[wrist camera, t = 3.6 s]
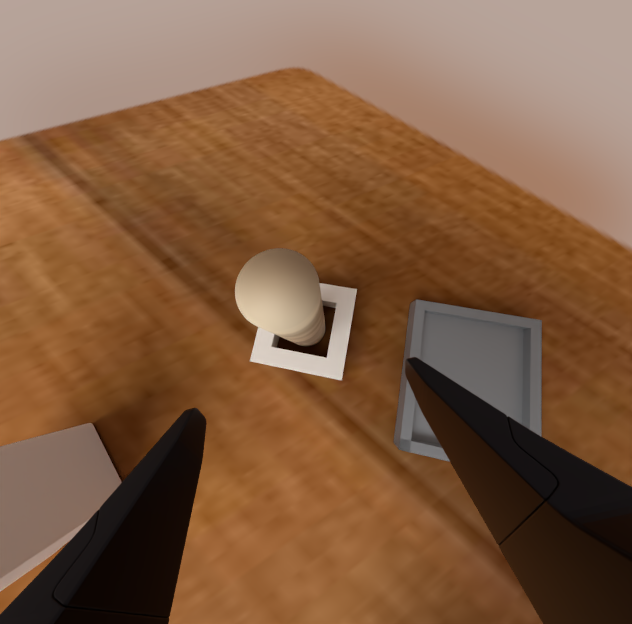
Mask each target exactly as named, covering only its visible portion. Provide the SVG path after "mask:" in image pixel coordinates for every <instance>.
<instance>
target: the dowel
mask: <svg viewBox="0 0 632 624" xmlns="http://www.w3.org/2000/svg"><path fill="white" fill-rule="evenodd" d="M235 298H236V302H237V305H238V308H239V310H240V312H241V313H242V314H243V316H244V317H245V318H246V319H247V320H248V321H249V322H251V323H252V324H254V325H255V326H257V327H260V328H262V329H264V330H266V331H269V332H271V333H273V334H275V335H278V336H280V337H282V338H284V339H287V340H289V341H291V342H293V343H296V344H298V345H300V346H304V347H309V346H313V345H315V344H317V343H318V342H320V341H321V339H322V338H323V336H324V334H325V330H326V326H325V319H324V312H323V305H322V298H321V291H320V283H319V278H318V274H317V272H316V270H315V268H314V266H313V265H312V263H311V262H310V261H309V260H308V259H307V258H306V257H305V256H303V255H302V254H300V253H298V252H296V251H293V250H289V249H283V248H276V249H270V250H266V251H263V252H261V253H259V254H257V255H255V256H254V257H253V258H251V259H250V260H249V261H248V262H247V263H246V264H245V265H244V267H243V268H242V270H241V271H240V273H239V275H238V278H237V281H236V285H235Z"/></svg>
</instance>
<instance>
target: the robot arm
mask: <svg viewBox="0 0 632 624" xmlns="http://www.w3.org/2000/svg"><path fill="white" fill-rule="evenodd" d="M405 375H406V378H407V380H408V382H409V384H410V387H411V389H412V391H413V394H414V396H415V398H416V400H417V403H418V405H419V407H420V409H421V411H422V413H423V415H424V417H425V419H426V420H427V422H428V424H429V426H430V427H431V429H432V431H433V433H434V434H435V436H436V438H437V440H438V441H439V443H440V445H441V447H442V448H443V450H444V452H445V453H446V455H447V457H448V459H449V460H450V462H451V464H452V466H453V467H454V469H455V471H456V473H457V474H458V476H459V478H460V480H461V481H462V483H463V485H464V487H465V488H466V490H467V492H468V493H469V495H470V497H471V499H472V500H473V502H474V504H475V506H476V507H477V509H478V511H479V513H480V514H481V516H482V518H483V520H484V521H485V523H486V525H487V526H488V528H489V530H490V532H491V533H492V535H493V537H494V539H495V540H496V542H497V544H498V545H499V548H500V549H501V551H502V553H503V555H504V556H505V558H506V560H507V562H508V563H509V565H510V567H511V568H512V570H513V572H514V574H515V575H516V577H517V579H518V581H519V582H520V584H521V586H522V588H523V589H524V591H525V593H526V595H527V596H528V598H529V600H530V602H531V603H532V605H533V607H534V608H535V610H536V612H537V614H538V615H539V617H540V619H541V621H542V622H543V624H632V487H631V486H629V485H627V484H625V483H623V482H622V481H620V480H618V479H616V478H614V477H613V476H611V475H609V474H607V473H605V472H603V471H602V470H600V469H598V468H596V467H594V466H593V465H591V464H589V463H587V462H585V461H584V460H582V459H580V458H578V457H576V456H575V455H573V454H571V453H569V452H567V451H566V450H564V449H562V448H560V447H559V446H557V445H555V444H553V443H552V442H550V441H548V440H546V439H545V438H543V437H541V436H540V435H538V434H536V433H535V432H533V431H531V430H530V429H528V428H527V427H525V426H523V425H522V424H520V423H519V422H517V421H515V420H514V419H512V418H511V417H509V416H508V417H507V415H506V414H504V413H503V412H501V411H500V410H498V409H497V408H495V407H493V406H492V405H490V404H489V403H487V402H486V401H484V400H483V399H481V398H479V397H478V396H476V395H475V394H473V393H472V392H470V391H468V390H467V389H465V388H464V387H462V386H461V385H459V384H458V383H456V382H454V381H453V380H451V379H450V378H448V377H447V376H445V375H444V374H442V373H440V372H439V371H437V370H436V369H434V368H433V367H431V366H429V365H428V364H426V363H425V362H423V361H422V360H420V359H419V358H417V357H411V358H407V359H406V360H405ZM205 432H206V419H205V417H204V416H203V415H202V413H201V412H200V411H199V410H198V409H197V408H192V409H188V410H186V411H184V412H183V413H182V415H181V416H180V417H179V418H178V419H177V420H176V421H175V423H174V424H173V425H172V426H171V427H170V428H169V429H168V431H167V432H166V433H165V434H164V435H163V436H162V437H161V438H160V440H159V441H158V442H157V443H156V444H155V445H154V446H153V448H152V449H151V450H150V451H149V452H148V453H147V454H146V456H145V457H144V458H143V459H142V460H141V461H140V462H139V464H138V465H137V466H136V467H135V468H134V469H133V470H132V472H131V473H130V474H129V475H128V476H127V477H126V478H125V479H124V481H123V482H122V483H121V484H120V485H119V486H118V487H117V489H116V490H115V491H114V492H113V493H112V494H111V495H110V497H109V498H108V499H107V500H106V501H105V502H104V503H103V505H102V506H101V507H100V509H99V510H97V511H96V512H95V514H94V515H93V516H92V517H91V518H90V519H89V520H88V522H87V523H86V524H85V525H84V526H83V527H82V528H81V529H80V530H79V532H78V533H77V534H76V535H75V536H74V537H73V538H72V539H71V540H70V542H69V543H68V544H67V545H66V546H65V547H64V548H63V549H62V550H61V551H60V552H59V553H58V554H57V555H56V557H55V558H54V559H53V560H52V561H51V562H50V563H49V564H48V565H47V566H46V567H45V568H44V569H43V570H42V571H41V572H40V573H39V575H38V576H37V577H36V578H35V579H34V580H33V581H32V582H31V583H30V584H29V585H28V586H27V587H26V588H25V589H24V590H23V591H22V592H21V593H20V594H19V595H18V596H17V597H16V599H15V600H14V601H13V602H12V603H11V604H10V605H9V606H8V607H7V608H6V609H5V610H4V611H3V612H2V613H1V614H0V624H168V623H169V616H170V612H171V607H172V603H173V598H174V593H175V588H176V584H177V579H178V574H179V569H180V565H181V560H182V555H183V550H184V546H185V541H186V536H187V531H188V527H189V522H190V517H191V512H192V508H193V503H194V498H195V493H196V489H197V484H198V479H199V474H200V470H201V464H202V458H203V450H204V441H205Z"/></svg>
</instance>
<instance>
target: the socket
mask: <svg viewBox="0 0 632 624" xmlns="http://www.w3.org/2000/svg"><path fill="white" fill-rule="evenodd" d="M320 291H321V298H322V305H323V306H328V307H333V308H336V310H335V315H334V321H333V326H332V332H331V337H330V342H329V348H328V353H327V358H325V357H320V356H315V355H310V354H305V353H300V352H295V351H290V350H285V349H280V348H277V346H278V341H279V337H280V336H278V335H275V334H273V333H271V332H269V331H266V330H264V329H262V328H260V327H258V331H257V335H256V339H255V343H254V347H253V351H252V355H251V359H250V361H252V362H256V363H261V364H266V365H271V366H275V367H280V368H285V369H290V370H294V371H299V372H304V373H309V374H313V375H318V376H323V377H328V378H333V379H337V380H342V376H343V370H344V364H345V358H346V352H347V346H348V340H349V334H350V328H351V322H352V316H353V310H354V304H355V298H356V293H357V289H353V288H347V287H341V286H335V285H329V284H323V283H320Z"/></svg>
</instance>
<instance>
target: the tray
mask: <svg viewBox="0 0 632 624" xmlns="http://www.w3.org/2000/svg"><path fill="white" fill-rule="evenodd" d="M411 357H417V358H419V359H420V360H422V361H423V362H425V363H426V364H428V365H429V366H431V367H433V368H434V369H436V370H437V371H439V372H440V373H442V374H444V375H445V376H447V377H448V378H450V379H451V380H453V381H454V382H456V383H458V384H459V385H461V386H462V387H464V388H465V389H467V390H468V391H470V392H472V393H473V394H475V395H476V396H478V397H479V398H481V399H483V400H484V401H486V402H487V403H489V404H490V405H492V406H493V407H495V408H497V409H498V410H500V411H501V412H503V413H504V414H506V415H507V417H508V416H509V417H511V418H512V419H514V420H515V421H517V422H519V423H520V424H522V425H523V426H525V427H527V428H528V429H530V430H531V431H533V432H535V433H536V434H538V435H540V436H541V362H542V320H537V319H531V318H525V317H519V316H513V315H507V314H501V313H495V312H489V311H483V310H477V309H471V308H465V307H459V306H453V305H447V304H441V303H435V302H429V301H423V300H417V299H416V300H415V301H413V302H412V303H410V309H409V317H408V326H407V334H406V343H405V351H404V360H403V368H402V376H401V385H400V393H399V402H398V410H397V419H396V427H395V435H394V443H395V445H396V446H397V447H398V449H399V450H403V451H407V452H411V453H416V454H420V455H424V456H428V457H433V458H437V459H441V460H445V461H450V460H449V459H448V457H447V455H446V453H445V452H444V450H443V448H442V447H441V445H440V443H439V441H438V440H437V438H436V436H435V434H434V433H433V431H432V429H431V427H430V426H429V424H428V422H427V420H426V419H425V417H424V415H423V413H422V411H421V409H420V407H419V405H418V403H417V400H416V398H415V396H414V394H413V391H412V389H411V387H410V384H409V382H408V380H407V378H406V375H405V360H406V359H407V358H411Z"/></svg>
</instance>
